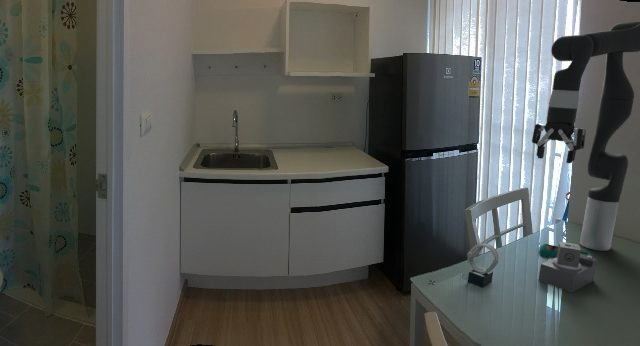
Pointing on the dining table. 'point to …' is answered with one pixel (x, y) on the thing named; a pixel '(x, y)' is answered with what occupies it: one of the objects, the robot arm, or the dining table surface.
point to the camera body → (568, 273)
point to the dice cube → (568, 254)
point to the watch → (479, 274)
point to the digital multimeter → (553, 251)
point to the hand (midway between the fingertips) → (554, 160)
